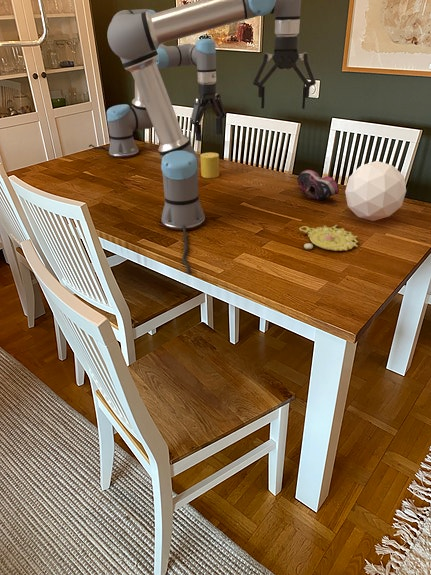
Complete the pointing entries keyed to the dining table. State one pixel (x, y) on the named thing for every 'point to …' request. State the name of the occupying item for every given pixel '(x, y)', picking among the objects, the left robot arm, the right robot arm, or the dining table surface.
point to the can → (209, 165)
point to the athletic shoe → (317, 185)
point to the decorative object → (330, 238)
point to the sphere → (375, 190)
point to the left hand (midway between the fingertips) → (209, 137)
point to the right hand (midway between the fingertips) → (282, 107)
